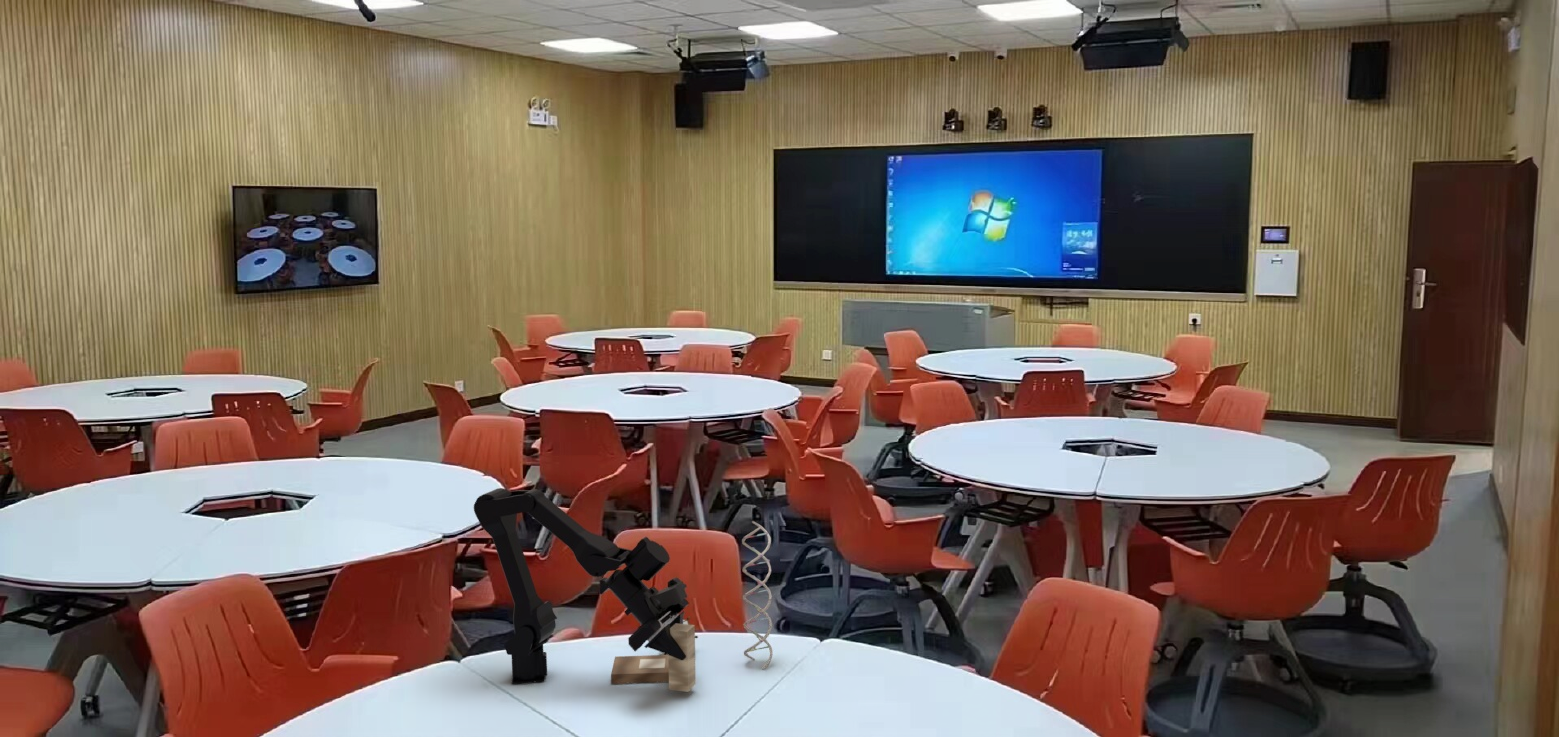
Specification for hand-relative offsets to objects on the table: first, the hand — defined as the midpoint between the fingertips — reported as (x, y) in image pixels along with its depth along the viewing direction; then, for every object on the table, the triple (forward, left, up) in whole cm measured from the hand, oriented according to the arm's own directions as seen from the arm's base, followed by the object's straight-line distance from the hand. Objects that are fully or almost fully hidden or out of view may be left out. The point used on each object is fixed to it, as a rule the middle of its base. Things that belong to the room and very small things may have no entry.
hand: (688, 654), depth 227 cm
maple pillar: (-1, +1, -7) cm, 7 cm away
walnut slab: (-6, +13, -8) cm, 16 cm away
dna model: (+16, +13, -8) cm, 22 cm away
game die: (0, +23, -8) cm, 24 cm away
